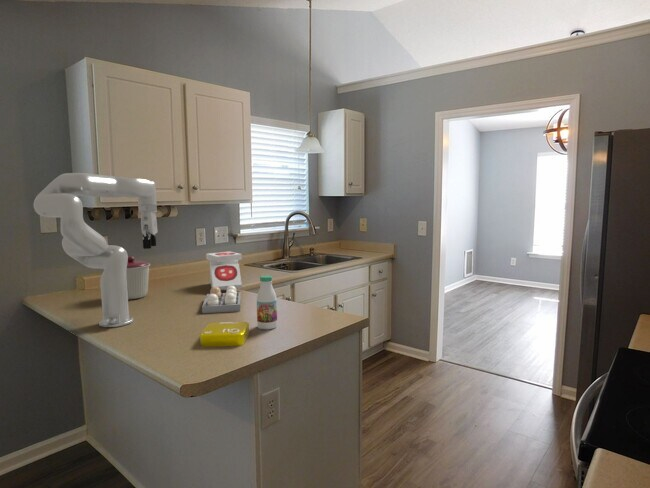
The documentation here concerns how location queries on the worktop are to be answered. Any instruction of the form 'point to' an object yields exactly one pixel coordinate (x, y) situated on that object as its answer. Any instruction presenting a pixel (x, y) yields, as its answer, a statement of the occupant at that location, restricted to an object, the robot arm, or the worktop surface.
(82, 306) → the worktop surface
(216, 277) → the pizza boxes
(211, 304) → the egg carton
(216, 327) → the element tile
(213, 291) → the brown egg
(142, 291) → the canister
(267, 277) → the milk bottle
